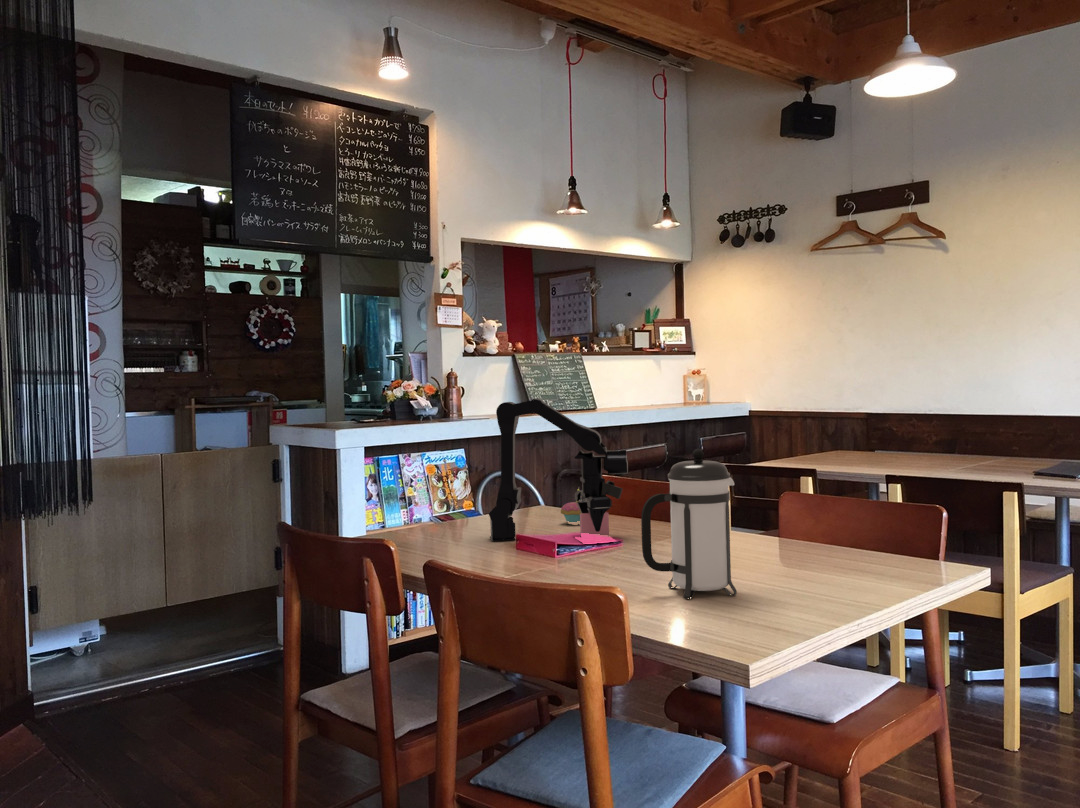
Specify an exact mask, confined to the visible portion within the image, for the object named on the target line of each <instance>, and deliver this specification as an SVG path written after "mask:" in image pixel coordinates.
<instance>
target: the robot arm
mask: <svg viewBox="0 0 1080 808" xmlns="http://www.w3.org/2000/svg"><path fill="white" fill-rule="evenodd" d="M495 411H496V412H495V413H496V418H497V419H496V421H497V425H498V428H499V432H500V484H499V487H498V492H497V496H496V503H495V506H494V507H493V508H492V509H491V511H489V513H488V517H489V523H490V536H489V539H490V541H492V542H504V541H505V542H507V541H515V540H516V538H515V537H516V536H517V535H516V523H515V522H514V517H513V513H514V511H516V510H517V509H518V508H519V506H520V504H521V502H522V497H521V494H522V487H521V486H520V487H518V486H517V484H516V432H517V428H518V424H519V419H520V416H523V415H528V414H533V413H535V414H537V415H538V416H540V417H541V418H543V419H544V420H546V421H547V422H549V423H550V424H551V425H553V426H555V427H557V428H559V429H560V430H561V431H563V432H565V433H567V435H569V436H570V438H572V440H574V442H576V444H578V445H579V446H580V447H581V448H582V449H583V450H584V451H586V452H584V451H583V450H582V449H580V450H579V451H578V453H577V454H576V455H575V456H574V459H575V460H581V476H580V477H579V480H580V482H581V484H582V485H581V487H582V489H581V490H580V489H579V490H578V491H577V490H576V492H575V493H574V500H575V502H576V501H577V502H576V503H577V505H578V507H579V509H580V511H581V513H589V514H590V517H591V520H592V523H593V525H594V528H595V531H596V532H599V531H600V528H601V524H602V520H603V516H604V513H605V512H608V511H610V509H611V508H612V507H613V505H612V504H613V503H612V502H613V501H612V498H610V497H613V498H615V499H618V500H620V499H621V496H622V493H623V488H622V487H619V486H617V485H615V482H614V481H611V480H607V481H606V479H605V478H604V477H603V470H604V471H605V472H607V475H614V474H615V475H619V474H620V475H621V474H622V475H625V474H626V475H627V474H628V473H629V462H628V461H629V460H628V454H627V449H618V450H609V449H608V448H607V446H605V444H604V443H603V442H602V436H601V434H600V433H599V432H598V431H597V430H596V429H593V428H590V427H588V426H585V425H583V424H580V423H578V422H576V421H574V420H572V419H570V418H569V417H568V416H566V415H565V414H563V413H561V412H560V411H558V410H556V409H555V408H554V407H553V406H550V405H549V404H547V403H546V402H544V401H543V400H542V399H541V398H533V399H531V400H528V401H527V400H526V401H521V402H517V403H515V402H513V401H506V402H505V401H504V402H502V403H500V404H499V405H498V406H497V408H496V409H495ZM594 453H596V454H598V455H595V454H594ZM602 459H603V460H602ZM602 461H603V464H602ZM602 466H603V468H602ZM602 469H603V470H602ZM609 496H610V497H609Z"/></svg>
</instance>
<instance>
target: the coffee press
mask: <svg viewBox="0 0 1080 808" xmlns="http://www.w3.org/2000/svg"><path fill="white" fill-rule="evenodd" d="M704 455H705V453H704V451H703V450H702V449H701V448H695V449H693V452H692V456H693V458H694V459H693V460H685V461H680V462H677V463H675V464H673V465H672V466H671V468H670V471H669V473H667V479H668V481H669V491H668V493H657V494H654V495H652V496H650V497H649V498H647V500H646V501H645V503H644V505H643V507H642V511H641V518H640V519H641V521H640V522H641V524H640V525H641V548H642V551H641V552H642V556H643V557H642V558H643V560H644V562H645V563H646V565H647V566H648V567H649V568H650V569H652V570H653V571H656V572H671V573H672V577H671V579H670V580H669V582H668V584H667V585H668V588H669V589H670V588H671V587H674V589H676V588H677V587H678V588H681V589H684V591H683V599H684V598H689V599H688V600H690V597H692V598H693V597H694V594H695V593H696V592H711V591H719V590H721V591H724V592H725V593H726V594H727V596H729V595H730V594H733V596H732V597H734V596H735V595H737V592H738V590H737V588H736V587H735V586H734V583H733V582H732V574H731V571H732V568H731V566H732V565H731V538H730V537H731V536H730V535H731V533H730V532H731V531H730V527H731V526H730V501H731V494H730V493H731V491H730V490H729V486H730V487H731V486H735V481H734V479H733V478H732V477H731V473H730V472H728V469H727V466H726V465H725V464H723V463H721V462H719V461H715V460H714V461H713V460H703V459H702V458H703V457H704ZM665 502H669V505H670V539H671V542H670V543H671V560H670V562H657V561H656V560H655V559H654V557H653V553H652V527H651V525H652V524H651V518H652V516H651V515H652V511H653V508H655V507H656V506H657V505H658V504H660V503H665ZM672 583H674V585H675V586H673V584H672ZM728 586H729V587H730V588H731V590H732V592H733V593H732V592H731V591H730V590H729V589H728V588H727V587H728Z"/></svg>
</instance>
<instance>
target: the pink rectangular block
mask: <svg viewBox="0 0 1080 808" xmlns="http://www.w3.org/2000/svg"><path fill="white" fill-rule="evenodd" d="M579 527H580V532H579V533H580V534H581V533H589V534H600V535H609V536H610V519H609V512H608V511H606V512H605V513H604V516H603V520H602V524H601V528H600V531H599V532H596V531H595V528H594V525H593V523H592V520H591V517H590V514H589V513H581V514H580V525H579Z"/></svg>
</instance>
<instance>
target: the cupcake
mask: <svg viewBox="0 0 1080 808" xmlns="http://www.w3.org/2000/svg"><path fill="white" fill-rule="evenodd" d="M578 490H580V487H578V489H577V490H576V492H577V491H578ZM576 502H577V501H576V500H575V501H569V502H567V503H565V504H564V505H562V506H561V508H560V514H562V515H563V516H564V518H565V521H566V522H567V521H569V522H577V521H580V514H581V511H580V509H579V507H578V505H577V503H576Z"/></svg>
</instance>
